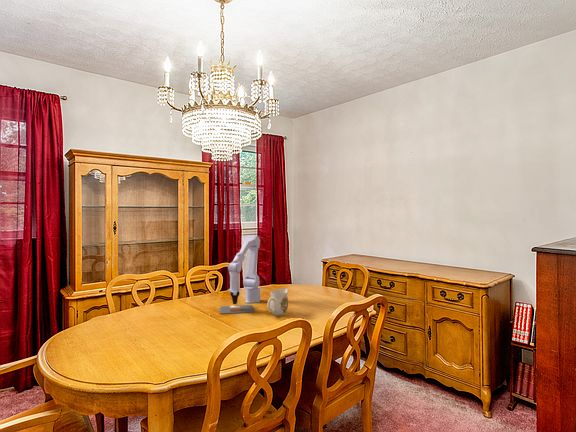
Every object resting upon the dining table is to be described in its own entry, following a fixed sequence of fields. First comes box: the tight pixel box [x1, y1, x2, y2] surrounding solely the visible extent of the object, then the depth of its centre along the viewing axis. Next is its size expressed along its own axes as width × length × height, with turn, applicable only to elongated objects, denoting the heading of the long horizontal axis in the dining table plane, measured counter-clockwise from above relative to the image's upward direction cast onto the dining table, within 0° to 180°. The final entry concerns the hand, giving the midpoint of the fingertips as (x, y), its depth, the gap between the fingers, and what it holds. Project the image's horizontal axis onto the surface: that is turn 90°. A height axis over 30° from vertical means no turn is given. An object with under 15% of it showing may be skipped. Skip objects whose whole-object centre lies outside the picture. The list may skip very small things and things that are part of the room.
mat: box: [219, 304, 255, 315], centre depth 210 cm, size 20×14×1 cm
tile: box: [228, 304, 241, 311], centre depth 208 cm, size 7×2×5 cm
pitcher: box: [266, 287, 289, 317], centre depth 201 cm, size 11×18×14 cm, turn 143°
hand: (234, 303), depth 210 cm, fingers closed
